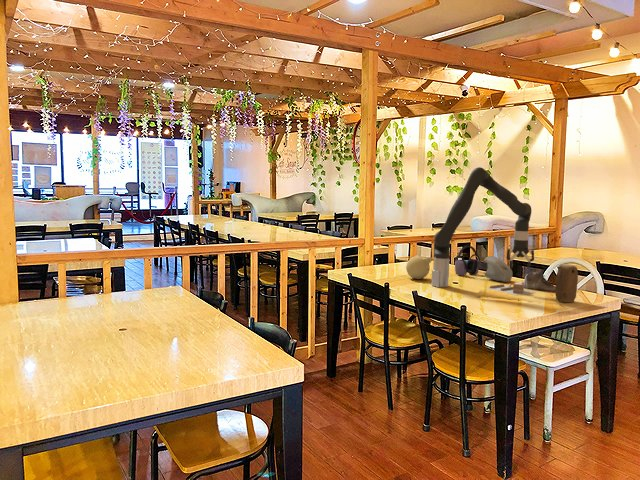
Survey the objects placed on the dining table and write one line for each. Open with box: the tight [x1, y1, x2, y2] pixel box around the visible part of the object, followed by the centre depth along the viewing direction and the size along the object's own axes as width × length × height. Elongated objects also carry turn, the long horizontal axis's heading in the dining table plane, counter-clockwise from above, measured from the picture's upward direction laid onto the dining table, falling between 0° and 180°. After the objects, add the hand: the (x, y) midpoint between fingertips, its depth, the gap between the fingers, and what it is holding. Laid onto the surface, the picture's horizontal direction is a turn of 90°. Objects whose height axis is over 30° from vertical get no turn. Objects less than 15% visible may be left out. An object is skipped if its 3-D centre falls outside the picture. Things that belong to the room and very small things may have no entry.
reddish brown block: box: [512, 281, 525, 295], centre depth 293 cm, size 9×5×5 cm, turn 156°
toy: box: [405, 253, 433, 280], centre depth 336 cm, size 17×15×15 cm
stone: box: [554, 263, 579, 303], centre depth 276 cm, size 12×7×20 cm, turn 122°
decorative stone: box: [483, 255, 513, 283], centre depth 334 cm, size 12×17×15 cm
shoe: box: [523, 271, 556, 294], centre depth 299 cm, size 25×11×12 cm, turn 46°
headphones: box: [454, 245, 481, 277], centre depth 353 cm, size 9×17×20 cm, turn 120°
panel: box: [486, 283, 537, 296], centre depth 298 cm, size 16×22×4 cm
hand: (519, 267), depth 292 cm, fingers open, 8 cm apart
